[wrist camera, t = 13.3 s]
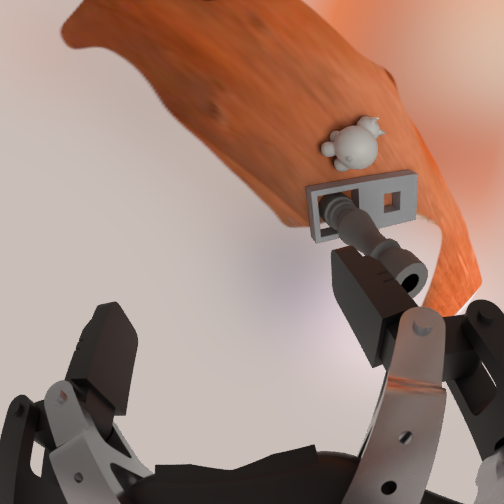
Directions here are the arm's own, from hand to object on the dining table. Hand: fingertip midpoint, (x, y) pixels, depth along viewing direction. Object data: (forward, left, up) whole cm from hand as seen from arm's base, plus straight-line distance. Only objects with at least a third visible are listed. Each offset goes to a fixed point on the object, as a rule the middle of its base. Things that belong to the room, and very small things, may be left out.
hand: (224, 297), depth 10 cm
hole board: (+15, +25, -38) cm, 48 cm away
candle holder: (+15, +19, -38) cm, 45 cm away
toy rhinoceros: (+2, +23, -38) cm, 44 cm away
